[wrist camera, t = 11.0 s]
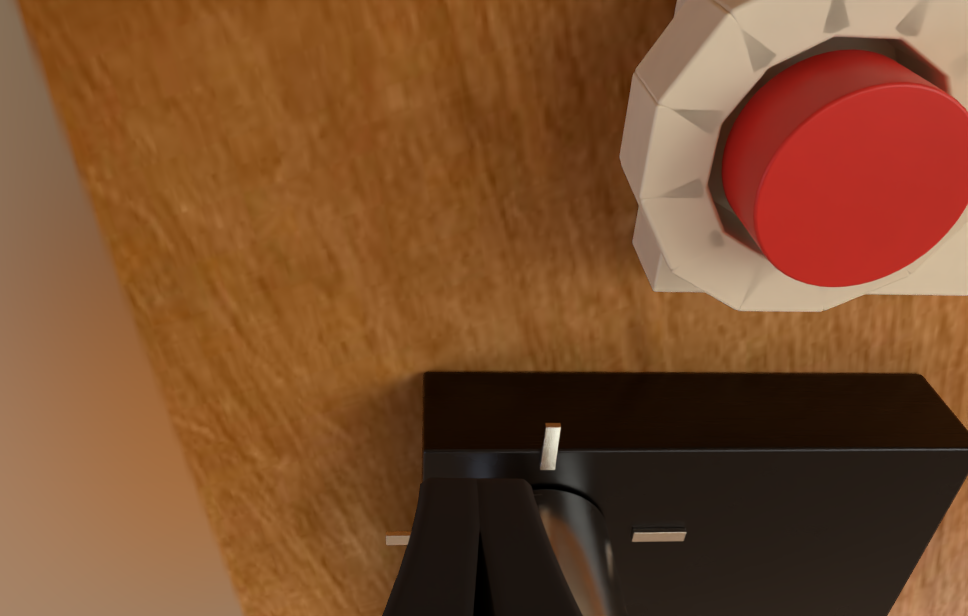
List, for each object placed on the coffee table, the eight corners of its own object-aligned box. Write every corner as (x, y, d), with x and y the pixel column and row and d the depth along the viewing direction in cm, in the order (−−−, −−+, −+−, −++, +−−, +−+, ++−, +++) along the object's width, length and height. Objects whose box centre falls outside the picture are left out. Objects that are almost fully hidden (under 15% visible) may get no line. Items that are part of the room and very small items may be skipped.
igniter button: (701, 237, 15) (731, 287, 13) (748, 43, 13) (788, 78, 11) (883, 240, 15) (930, 290, 14) (957, 52, 13) (1022, 87, 12)
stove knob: (595, 578, 21) (628, 738, 18) (464, 579, 21) (472, 742, 18) (616, 487, 19) (659, 646, 16) (472, 487, 19) (482, 650, 16)
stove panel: (394, 635, 27) (390, 725, 25) (388, 343, 20) (383, 427, 18) (801, 626, 29) (838, 711, 26) (934, 347, 21) (1004, 426, 19)
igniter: (580, 242, 19) (612, 341, 16) (634, -138, 14) (696, -110, 11) (1018, 250, 20) (1136, 345, 16) (1198, -104, 15) (1410, -70, 12)
